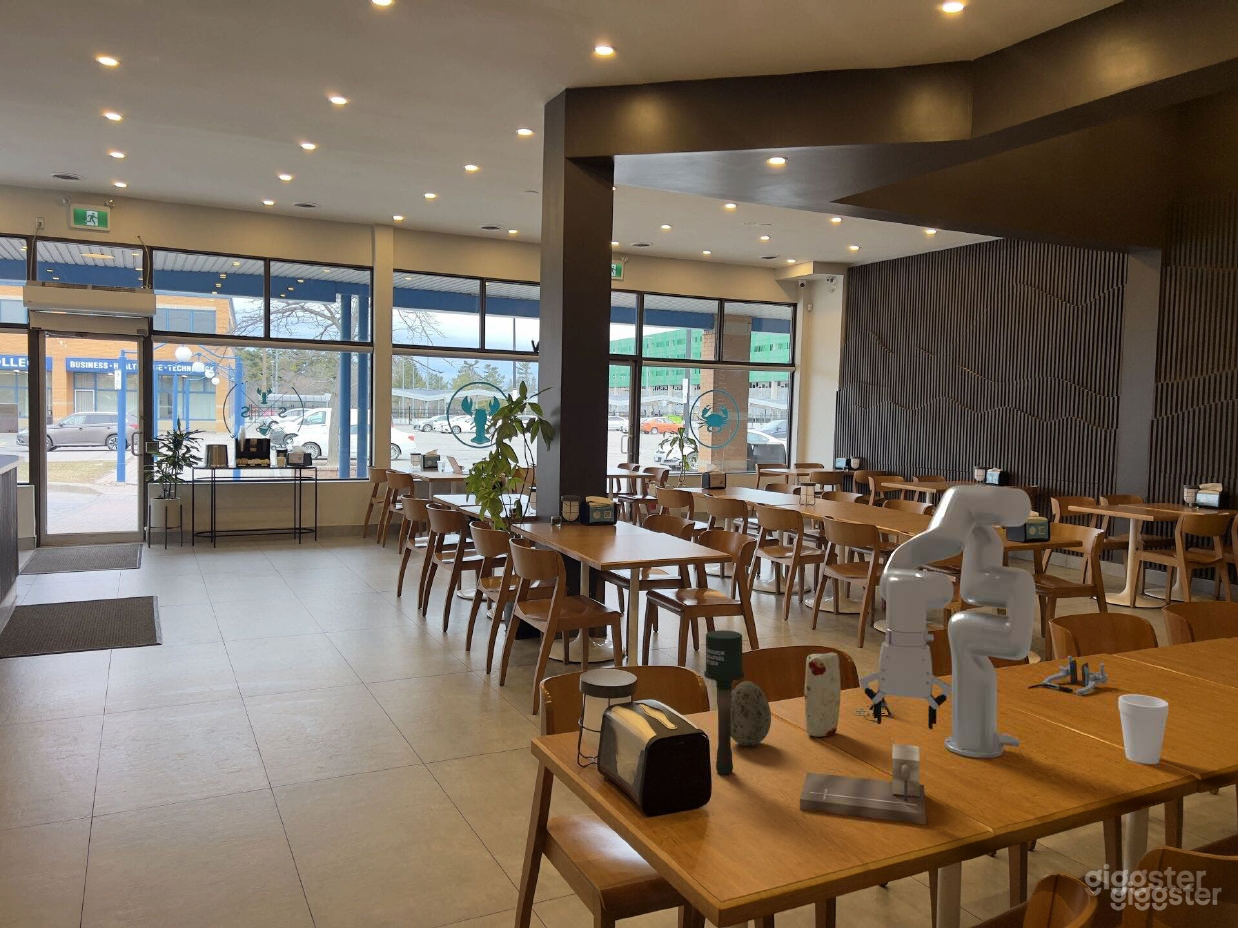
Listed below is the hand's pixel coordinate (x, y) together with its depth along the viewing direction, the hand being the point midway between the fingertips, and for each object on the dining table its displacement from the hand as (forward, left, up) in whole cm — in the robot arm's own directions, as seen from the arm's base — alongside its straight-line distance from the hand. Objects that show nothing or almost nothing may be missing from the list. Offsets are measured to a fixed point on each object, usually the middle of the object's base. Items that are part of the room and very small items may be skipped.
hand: (904, 724), depth 173 cm
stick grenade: (+37, -4, -15) cm, 40 cm away
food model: (+19, -34, -15) cm, 42 cm away
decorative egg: (+35, -22, -15) cm, 44 cm away
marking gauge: (0, +1, -15) cm, 15 cm away
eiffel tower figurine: (+6, -55, -16) cm, 58 cm away
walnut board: (+8, +3, -15) cm, 17 cm away
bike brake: (-45, -92, -16) cm, 104 cm away
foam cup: (-50, -38, -15) cm, 65 cm away
